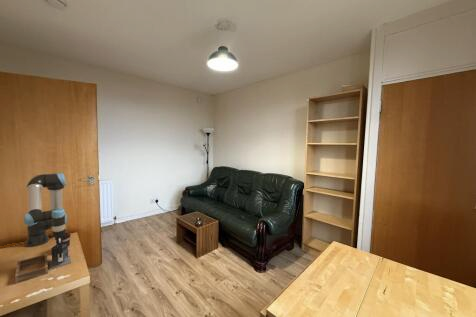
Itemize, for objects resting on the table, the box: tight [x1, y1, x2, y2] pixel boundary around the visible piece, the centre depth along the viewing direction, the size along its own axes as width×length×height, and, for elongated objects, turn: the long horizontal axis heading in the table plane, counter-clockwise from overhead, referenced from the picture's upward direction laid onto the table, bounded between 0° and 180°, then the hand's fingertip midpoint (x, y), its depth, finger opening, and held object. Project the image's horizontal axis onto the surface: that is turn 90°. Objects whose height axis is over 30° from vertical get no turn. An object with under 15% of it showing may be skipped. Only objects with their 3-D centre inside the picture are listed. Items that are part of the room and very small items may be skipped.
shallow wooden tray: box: [14, 253, 49, 284], centre depth 146 cm, size 22×15×5 cm
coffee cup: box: [54, 232, 71, 251], centre depth 171 cm, size 10×10×15 cm
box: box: [51, 244, 69, 261], centre depth 156 cm, size 8×6×11 cm
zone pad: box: [49, 255, 72, 270], centre depth 156 cm, size 12×12×1 cm
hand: (60, 258), depth 156 cm, fingers closed on box, 9 cm apart
